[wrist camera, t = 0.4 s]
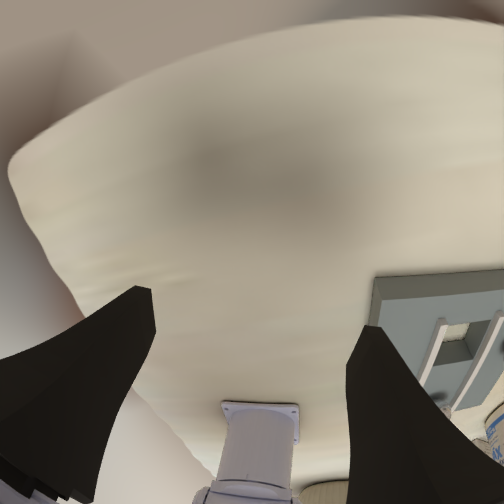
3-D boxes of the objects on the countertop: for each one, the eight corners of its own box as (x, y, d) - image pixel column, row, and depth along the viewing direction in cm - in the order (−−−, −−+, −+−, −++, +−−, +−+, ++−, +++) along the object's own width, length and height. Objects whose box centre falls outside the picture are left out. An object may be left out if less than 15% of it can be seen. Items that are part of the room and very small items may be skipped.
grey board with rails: (475, 387, 25) (482, 409, 22) (352, 405, 27) (353, 431, 25) (530, 266, 17) (549, 288, 14) (374, 277, 20) (384, 307, 17)
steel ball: (440, 407, 23) (447, 433, 20) (412, 412, 23) (417, 439, 21) (451, 389, 21) (459, 417, 19) (422, 394, 22) (428, 423, 19)
